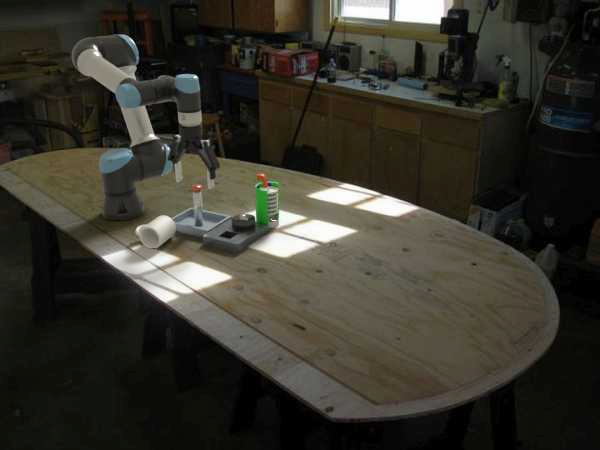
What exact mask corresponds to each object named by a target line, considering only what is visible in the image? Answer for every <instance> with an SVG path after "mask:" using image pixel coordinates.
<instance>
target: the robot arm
mask: <svg viewBox="0 0 600 450" xmlns="http://www.w3.org/2000/svg"><path fill="white" fill-rule="evenodd" d="M139 60H140V57H139V50H138V48H137V45H136V43H135V42H134V40H133V39H132V38H131V37H130V36H128V35H126V34H117V33H116V34H112V35H111V34H110V35H99V36H93V37H91V36H89V37H86V38H83V39H81V40H79V41H78V42H77V43H76V44H75V45H74V47H73V48H72V51H71V61H72V64H73V67H74V68H75V69H76V70H77V71H78V72H79V73H80V74H82V75H83V76H86V77H92V78H93V79H94V80H95V81H96V82H98V83H99V84H101V85H102V86H104V87H105V88H106V89H108V90H109V91H111V92H112V93H114V94H115V99H116V101H117V103H118V105H119V107H120V109H121V113H122V115H123V118H124V121H125V124H126V128H127V130H128V134H129V137H130V140H131V143H130V145H129V148H127V147H119V148H114V149H111V150H108V151H106V152H103V154H101V156H100V157H99V160H98V163H99V164H98V165H99V167H98V169H99V171H100V178H101V184H102V189H103V200H102V206H101V216H102V218H104V219H105V220H107V219H109V221H113V220H121V221H127V220H132V219H135V218H138V217H139V216H141V215H143V214H144V213H145V206H144V203H143V202H142V199H141V196H140V194H139V193H138V189H137V183H141V182H145V181H149V180H152V179H155V178H160V177H161V178H162V176H165V175H168V174H169V173H170V172H171V171H172V168H173V172H174V174H175V182H176V183H179V182H181V181H183V180H184V179H183V178H184V177H183V166H182V161H181V159H182V158H183V156H184V155H185V153H186V152H192V153H195V154H196V155H198V157H199V158H200V159H201V161H202V162H203V164H204V165H205V166H206V168H207V170H206V178H207V189H208V190H211V189H213V188H215V187H216V186H215V179H216V178H217V177H216V170H218V169H219V168H221V165H220V161H219V160H218V158H217V156H216V154H215V151H214V148H213V146H212V140H211V139H207V140H204V139H203V133H204V132H203V124H202V122H203V117H202V109H201V108H202V107H201V106H202V104H201V102H202V101H201V86H200V82H199V81H200V80H199V77H198V76H197V75H196V74H191V73H183V74H177V75H176V76H175V77H174V76H170V75H160V76H158V77H157V78H155V79H149V80H144V81H143V80H142V81H138V80H137V77H136V75H135V72H136V71H137V65H138V64H139ZM166 102H174V103H176V108H177V117H178V118H177V119H178V123H179V125H178V132H179V134H176V135H173V136H172V145H171V147H169V146H168V145H167V143H162V141H161V138H160V137H159V136H156V135H155V132H154V130H153V127H152V124H151V123H152V122H151V121H150V117H149V114H148V111H147V108H146V106H150V105H155V104H161V103H166ZM181 144H182V145H181ZM180 145H181V146H180ZM179 147H180V148H179ZM172 166H173V167H172Z"/></svg>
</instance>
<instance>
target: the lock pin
mask: <svg viewBox="0 0 600 450" xmlns="http://www.w3.org/2000/svg"><path fill="white" fill-rule="evenodd" d="M189 189H190V192H191V198H192V208H193V210H194V220H195V226H203V225H204V217H203V210H204V208H203V207H204V206H203V196H202V190H203V185H202V184H199V183H198V184H197V183H196V184H195V183H194V184H192V185H190V186H189Z"/></svg>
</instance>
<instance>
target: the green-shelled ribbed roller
mask: <svg viewBox="0 0 600 450" xmlns="http://www.w3.org/2000/svg"><path fill="white" fill-rule="evenodd" d="M256 181H261V182H258V183H256V184H255V186H254V189H255V191H254V192H255V194H254V195H255V221H257V222H262V223H266V224H268V229H269V228H276V227H277V226H279V224H280V193H279V191H280V189H279V187H280V186H279V185H280V183H279V182H276V181H268V179H267V175H265V173H258V174H257V175H256ZM271 219H272V220H276V221H272V220H271Z"/></svg>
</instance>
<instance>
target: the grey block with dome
mask: <svg viewBox="0 0 600 450" xmlns="http://www.w3.org/2000/svg"><path fill="white" fill-rule="evenodd" d="M268 233H269V228H268V224H266V223H262V222H257V221H256V215H253V214H249V213H239V214H236V215H233V216H232V218H231V219H230V220H228V221H226V222H225V223H223V224H221V225H220V226H218V227H217V228H215V229H213V230H212V231H210V232H208V233H207V234H205V235H204V236H203V238H202V242H203V245H205V246H209V247H214V248H218V249H221V250H225V251H230V252H234V253H237V254H239V253H241V252H243V251H244V250H245V249H247V248H248V247H249V246H251V245H252V244H254V243H255V242H256V241H258V240H259V239H261V238H262V237H264V236H265V235H267V234H268Z"/></svg>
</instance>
